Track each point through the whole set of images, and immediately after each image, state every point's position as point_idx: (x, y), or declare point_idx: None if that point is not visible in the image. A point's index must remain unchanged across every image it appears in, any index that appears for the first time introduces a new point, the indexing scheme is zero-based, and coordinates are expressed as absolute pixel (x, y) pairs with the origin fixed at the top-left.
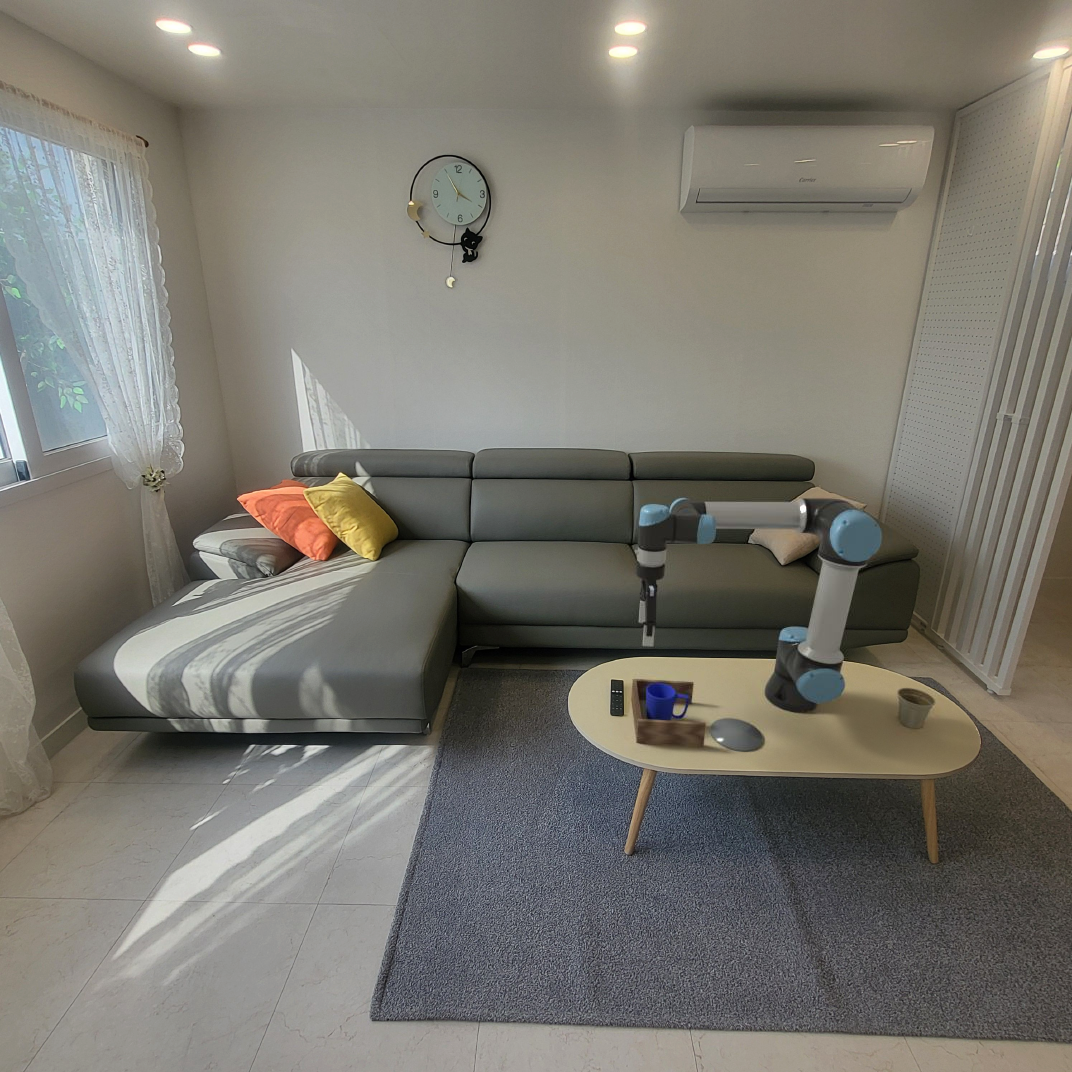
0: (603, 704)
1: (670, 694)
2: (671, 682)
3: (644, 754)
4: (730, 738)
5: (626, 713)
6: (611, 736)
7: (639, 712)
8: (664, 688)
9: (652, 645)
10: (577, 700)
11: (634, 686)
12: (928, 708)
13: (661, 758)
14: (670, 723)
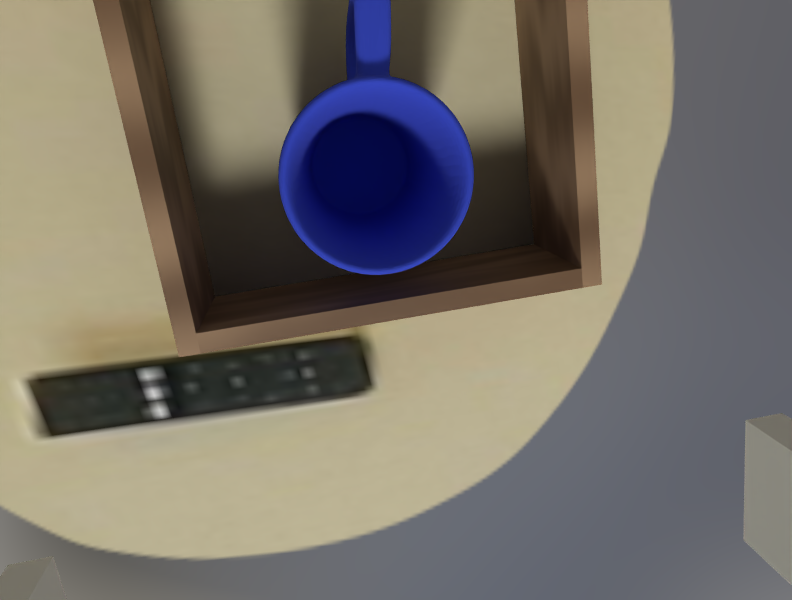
0: (293, 436)
1: (332, 110)
2: (141, 103)
3: (622, 216)
4: None
5: None
6: (526, 365)
7: (524, 284)
8: (298, 154)
9: (788, 428)
10: (294, 548)
11: (267, 337)
12: None
13: (638, 141)
14: (590, 107)
